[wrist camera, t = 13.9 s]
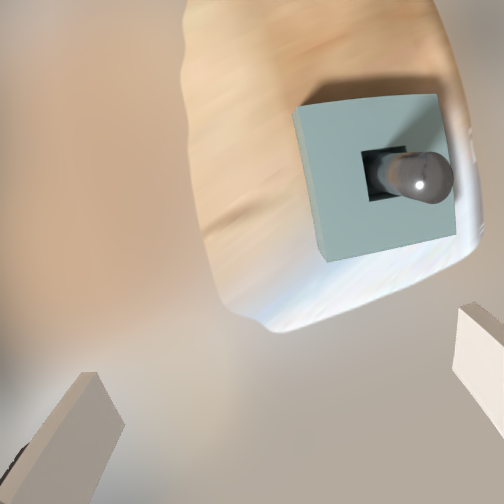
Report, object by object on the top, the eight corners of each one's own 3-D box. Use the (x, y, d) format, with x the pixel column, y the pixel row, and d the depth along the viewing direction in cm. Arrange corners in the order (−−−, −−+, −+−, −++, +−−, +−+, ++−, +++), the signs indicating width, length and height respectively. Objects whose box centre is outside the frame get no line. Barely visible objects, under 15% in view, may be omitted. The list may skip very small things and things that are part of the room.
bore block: (292, 114, 34) (297, 106, 29) (415, 100, 33) (436, 93, 28) (318, 249, 38) (326, 262, 33) (434, 225, 37) (456, 234, 32)
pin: (358, 152, 34) (411, 148, 21) (390, 156, 34) (454, 155, 21) (356, 187, 35) (408, 201, 22) (388, 190, 35) (451, 206, 22)
